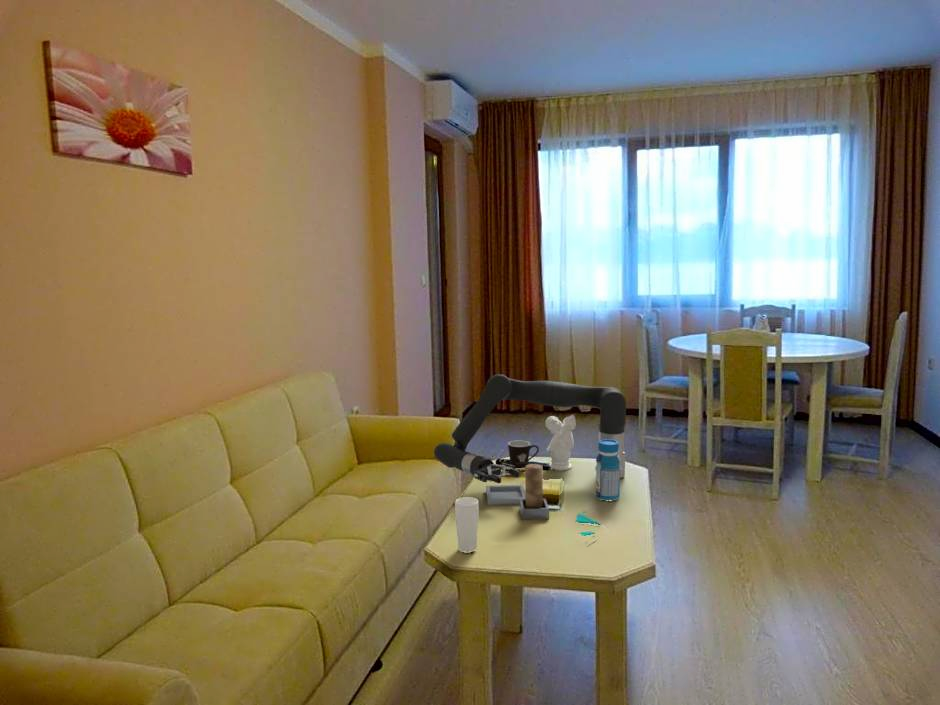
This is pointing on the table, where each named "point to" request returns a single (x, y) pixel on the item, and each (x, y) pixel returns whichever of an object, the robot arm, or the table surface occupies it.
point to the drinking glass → (467, 522)
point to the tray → (504, 494)
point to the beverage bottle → (608, 470)
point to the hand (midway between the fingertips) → (509, 477)
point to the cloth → (585, 519)
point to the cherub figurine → (561, 441)
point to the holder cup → (533, 511)
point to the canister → (533, 486)
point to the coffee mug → (520, 453)
